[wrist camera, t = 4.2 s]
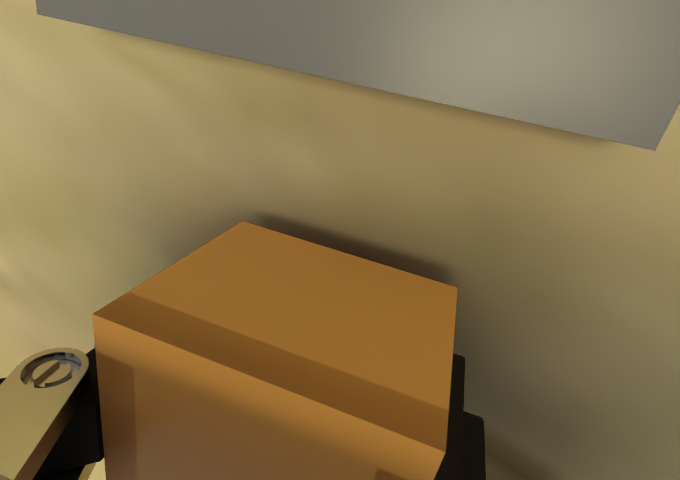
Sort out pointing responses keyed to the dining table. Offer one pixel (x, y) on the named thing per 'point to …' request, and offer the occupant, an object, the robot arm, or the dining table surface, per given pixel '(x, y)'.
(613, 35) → the plate
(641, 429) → the dining table surface
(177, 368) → the orange panelled cube
